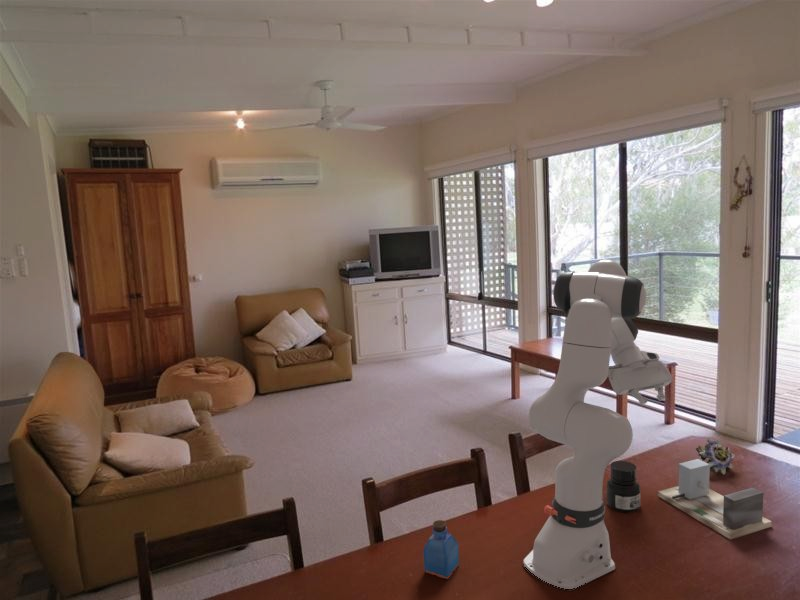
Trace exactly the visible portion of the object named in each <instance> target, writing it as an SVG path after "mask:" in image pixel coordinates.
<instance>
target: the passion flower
mask: <svg viewBox="0 0 800 600" xmlns="http://www.w3.org/2000/svg"><path fill="white" fill-rule="evenodd" d="M706 441H707V443H705V444H704V446H703V445H698V447H696V448H695V451H696V452H697V453H698V457H700V460H702V461H704V462H705V460H706V459H708V461H706V463H708V464H710V468H711V469H712V471H713V472H714V473H715V474H718V472H719V473H720V474H721V475H722V474H723V475H722V476H725V474H726V473H727V472H726V470H727V468H728V469H730V470H733V469H734V468H733V459H734V458H735V456H736V455H735V454H734V453H732V452H731V451H730V447H728V446H725V445H724V444H723V443H721V439H719V440H717V441H716V440H714V441H713V440H712V439H711V438H710V437H706ZM702 448H703V449H702Z"/></svg>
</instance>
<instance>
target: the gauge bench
mask: <svg viewBox="0 0 800 600" xmlns="http://www.w3.org/2000/svg"><path fill="white" fill-rule="evenodd" d="M678 489H679V485H678V486H673V487H670V488H669V487H668V488H666V489H665V488H664V489H661V490H658V491H657V497H658V498H660V499H662V500H664V501H665V502H666V503H669V504H670V505H672V506H674V507H675V508H677V509H679V510H680V511H682V512H683V513H685V514H687V515H689V516H690V517H692V518H694V519H695V520H696V521H699V522H700V523H702V524H704V525H706V526H707V527H709V528H710V529H712V530H714V531H715V532H717V533H719V534H720V535H722V536H724V537H725V538H727V539H728V540H733V539H734V540H735V539H737V538H740V537H743V536H746V535H750V534H753V533H757V532H759V531H762V530H765V529H768V528H771V527H772V520H770V519H768V518H766V517H764V516H763V514H764V513H763V510H764V491H761V490H759V489H757V488H755V487H750V488H746V489H743V490H739V491H735V492H732V493H731V492H730V493H728V494H725V495H722V494H720V493H718V492H716V491H714V490H713V489H711V488H709V494H708V495H704V496H701V497H697V498H693V499H688V498H686V497H684V496H683V497H679V498H676V499H673V498H672V496H675V495H679V493H678Z"/></svg>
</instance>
